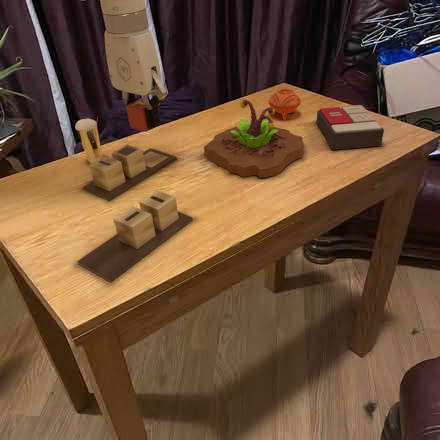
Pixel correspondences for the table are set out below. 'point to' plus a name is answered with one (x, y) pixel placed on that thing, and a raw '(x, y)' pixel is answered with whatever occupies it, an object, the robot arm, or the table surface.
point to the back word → (125, 170)
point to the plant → (255, 146)
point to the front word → (136, 235)
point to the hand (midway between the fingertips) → (145, 123)
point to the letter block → (137, 115)
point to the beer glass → (89, 139)
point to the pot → (284, 101)
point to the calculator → (349, 127)
